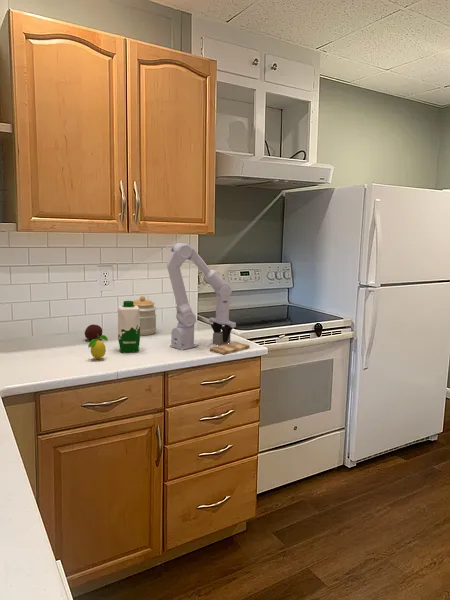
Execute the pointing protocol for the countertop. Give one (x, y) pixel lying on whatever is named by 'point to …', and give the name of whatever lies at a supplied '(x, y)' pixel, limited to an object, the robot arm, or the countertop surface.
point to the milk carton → (128, 327)
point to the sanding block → (219, 339)
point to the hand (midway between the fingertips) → (221, 340)
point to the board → (229, 348)
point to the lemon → (98, 347)
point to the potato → (93, 332)
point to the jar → (146, 316)
